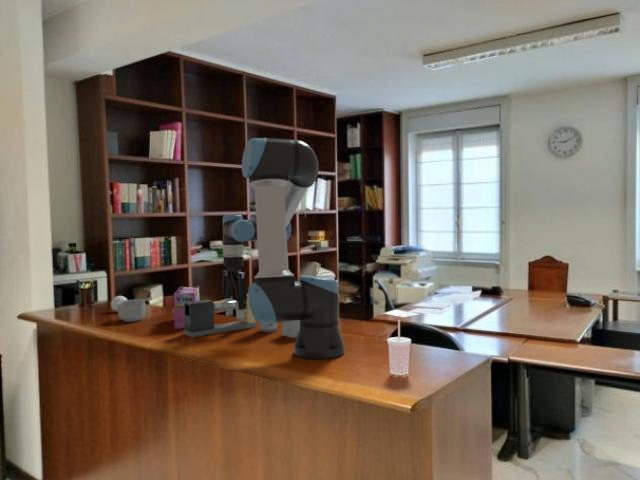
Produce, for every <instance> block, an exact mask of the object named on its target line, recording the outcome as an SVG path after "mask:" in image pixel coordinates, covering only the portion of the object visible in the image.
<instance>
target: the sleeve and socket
mask: <svg viewBox="0 0 640 480" xmlns="http://www.w3.org/2000/svg"><path fill="white" fill-rule="evenodd" d="M214 303H215V301H214V300H210V299H203V300H201V299H200V300H199V301H192V302H184V319H185V329H184V330H185V331H188V332H197V331H204V330H210V329H214V325H215V311H214ZM238 320H239V321H238V322H242V323H245V324H251V323H256V319H255V318H254V316H253V314H252V311H251V308H250V304H249V298H248V293H247V299H246V307H244V318H240V319H238Z"/></svg>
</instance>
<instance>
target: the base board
mask: <svg viewBox="0 0 640 480" xmlns="http://www.w3.org/2000/svg"><path fill="white" fill-rule="evenodd" d="M252 328H257V322H255V323H251V324H245V323H242V322H239V321H234V322H227V323H226V322H225V323H220V324H214V329H210V330H204V331H197V332H188V331H185V329H183V335H185V336H187V337H191V338H196V336H197V337H202V336H208V335H215V334H219V333H220V334H221V333H227V332H233V331H239V330H246V329H252Z"/></svg>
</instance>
